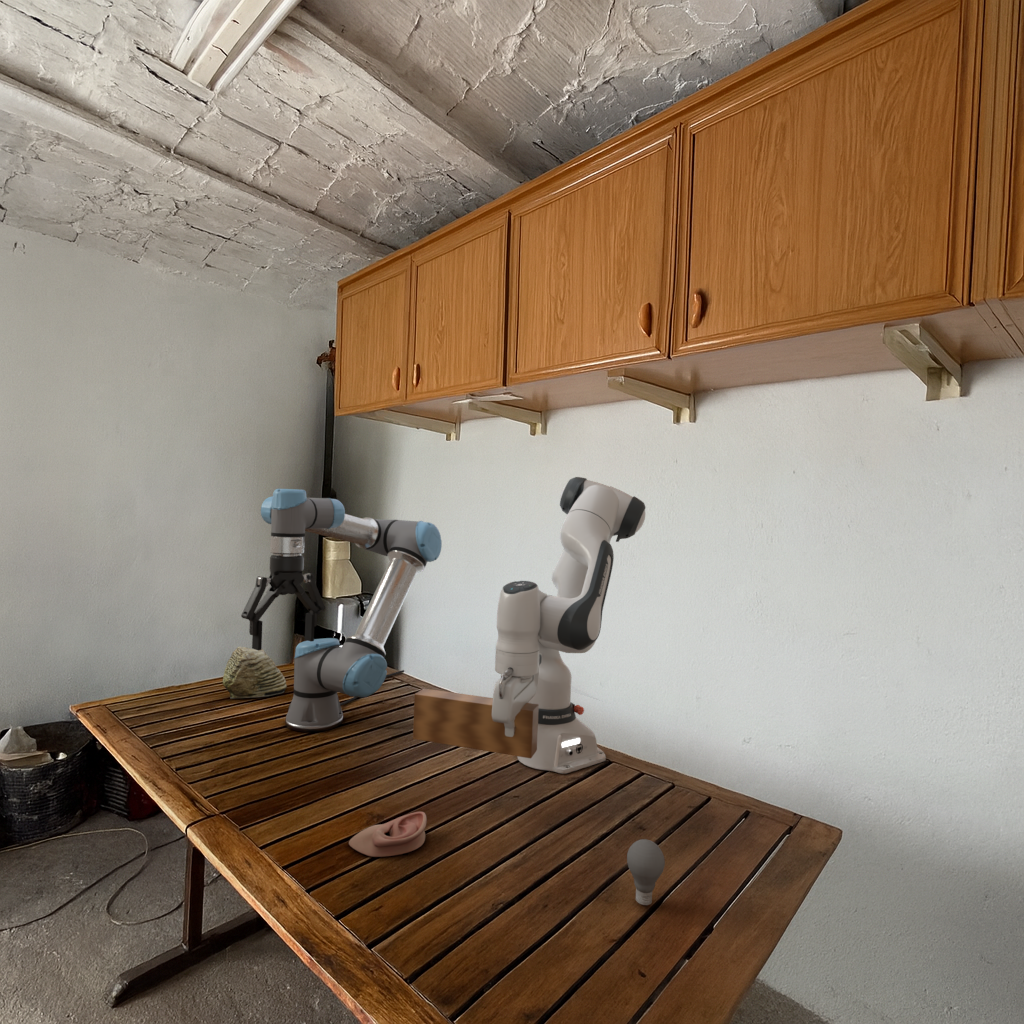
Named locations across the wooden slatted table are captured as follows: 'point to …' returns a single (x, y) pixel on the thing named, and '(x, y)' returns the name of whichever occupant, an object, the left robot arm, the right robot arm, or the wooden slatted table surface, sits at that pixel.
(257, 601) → the left robot arm
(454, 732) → the bar
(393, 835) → the anatomical model
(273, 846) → the wooden slatted table surface
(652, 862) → the light bulb
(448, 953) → the wooden slatted table surface
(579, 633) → the right robot arm
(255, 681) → the fossil
